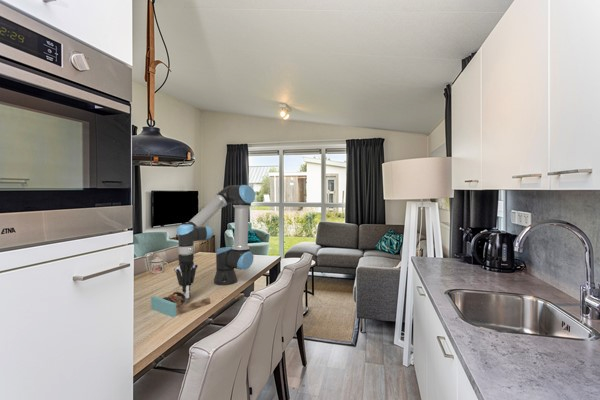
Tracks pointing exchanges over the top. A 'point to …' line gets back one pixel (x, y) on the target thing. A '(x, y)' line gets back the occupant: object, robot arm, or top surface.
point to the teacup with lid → (157, 265)
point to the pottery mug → (172, 298)
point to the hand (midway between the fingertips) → (186, 297)
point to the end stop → (163, 306)
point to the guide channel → (191, 305)
